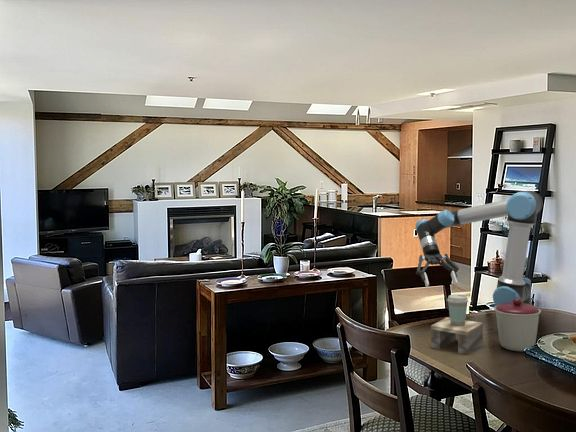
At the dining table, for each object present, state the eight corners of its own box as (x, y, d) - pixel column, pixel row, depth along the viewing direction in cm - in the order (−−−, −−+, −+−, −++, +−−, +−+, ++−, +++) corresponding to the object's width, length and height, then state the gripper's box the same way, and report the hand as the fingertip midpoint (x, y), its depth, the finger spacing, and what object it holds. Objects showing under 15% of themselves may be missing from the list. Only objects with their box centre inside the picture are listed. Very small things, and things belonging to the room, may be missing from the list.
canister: (550, 352, 224) (550, 301, 222) (509, 356, 221) (509, 304, 219) (524, 339, 242) (524, 292, 240) (485, 343, 239) (485, 295, 237)
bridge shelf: (482, 344, 237) (482, 322, 236) (467, 354, 225) (467, 331, 224) (447, 338, 247) (447, 317, 246) (431, 347, 235) (430, 325, 234)
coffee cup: (469, 327, 230) (469, 298, 229) (448, 326, 232) (448, 298, 231) (466, 321, 239) (466, 294, 238) (446, 321, 240) (446, 293, 239)
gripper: (452, 250, 273) (465, 287, 259) (403, 253, 270) (413, 290, 257) (456, 241, 267) (470, 278, 254) (406, 244, 264) (417, 282, 251)
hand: (442, 285), depth 255 cm, fingers open, 13 cm apart
